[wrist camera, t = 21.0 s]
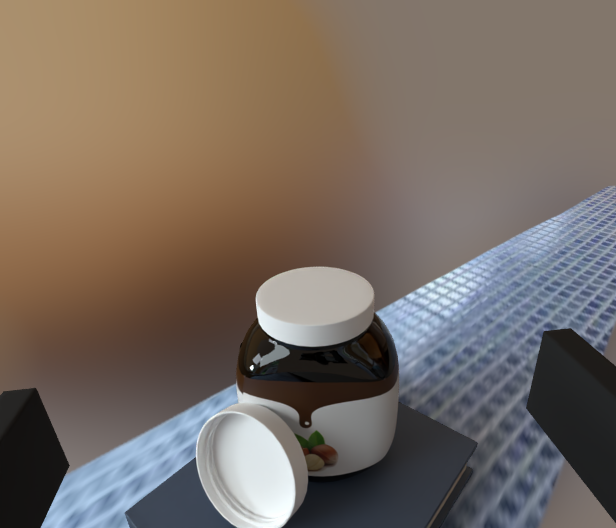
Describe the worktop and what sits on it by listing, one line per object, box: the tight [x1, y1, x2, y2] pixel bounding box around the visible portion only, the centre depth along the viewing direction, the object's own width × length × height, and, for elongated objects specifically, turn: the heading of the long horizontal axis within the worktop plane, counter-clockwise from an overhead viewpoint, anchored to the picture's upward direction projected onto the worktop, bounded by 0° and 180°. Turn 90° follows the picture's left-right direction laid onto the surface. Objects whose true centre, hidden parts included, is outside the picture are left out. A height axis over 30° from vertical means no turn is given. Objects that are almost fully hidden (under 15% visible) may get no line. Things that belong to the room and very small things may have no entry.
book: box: [125, 402, 478, 528], centre depth 27 cm, size 18×14×3 cm
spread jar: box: [196, 267, 399, 528], centre depth 25 cm, size 12×11×12 cm
